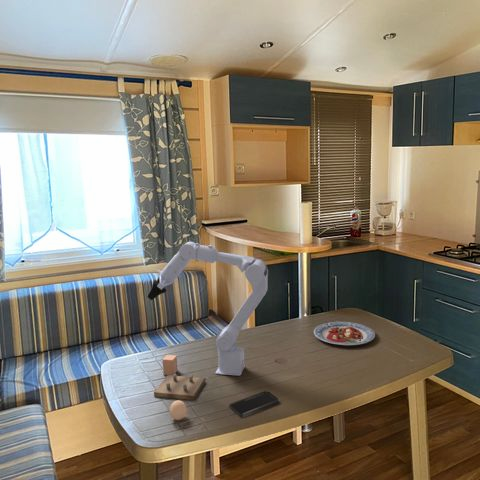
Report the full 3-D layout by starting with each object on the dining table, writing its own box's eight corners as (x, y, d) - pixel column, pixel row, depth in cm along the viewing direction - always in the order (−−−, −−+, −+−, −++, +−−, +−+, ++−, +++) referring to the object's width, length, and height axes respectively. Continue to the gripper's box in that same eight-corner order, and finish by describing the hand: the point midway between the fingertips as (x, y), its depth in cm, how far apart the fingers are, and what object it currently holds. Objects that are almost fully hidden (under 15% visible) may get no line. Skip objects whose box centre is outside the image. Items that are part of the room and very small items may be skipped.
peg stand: (204, 382, 153) (204, 372, 153) (193, 400, 142) (193, 390, 141) (168, 379, 157) (167, 370, 156) (154, 396, 145) (153, 386, 145)
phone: (280, 400, 138) (240, 415, 131) (280, 403, 138) (240, 419, 131) (266, 390, 145) (227, 404, 137) (266, 393, 145) (227, 407, 138)
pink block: (177, 370, 163) (176, 355, 162) (173, 375, 159) (172, 360, 158) (167, 369, 164) (166, 354, 163) (163, 374, 160) (162, 359, 159)
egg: (189, 421, 130) (187, 403, 129) (172, 425, 128) (170, 407, 127) (185, 412, 135) (183, 395, 134) (168, 416, 133) (167, 398, 132)
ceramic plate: (313, 325, 203) (313, 319, 202) (369, 326, 199) (370, 320, 199) (314, 349, 178) (314, 342, 177) (379, 350, 174) (379, 343, 174)
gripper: (169, 255, 165) (149, 280, 169) (160, 268, 151) (138, 295, 155) (184, 266, 166) (163, 291, 170) (176, 281, 152) (154, 307, 156)
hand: (152, 293), depth 162 cm, fingers open, 7 cm apart
